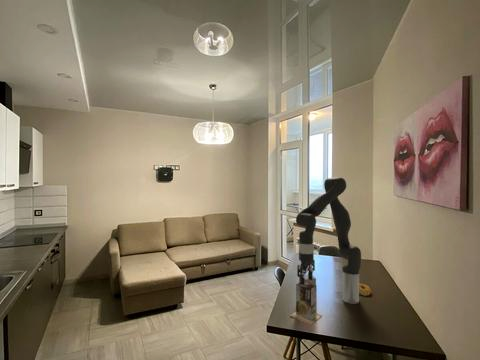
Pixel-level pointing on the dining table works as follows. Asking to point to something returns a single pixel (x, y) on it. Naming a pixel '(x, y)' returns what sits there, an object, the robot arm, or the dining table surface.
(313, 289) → the coffee box
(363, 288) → the bagel
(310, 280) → the skincare box
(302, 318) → the cork rest mat
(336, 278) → the dining table surface
